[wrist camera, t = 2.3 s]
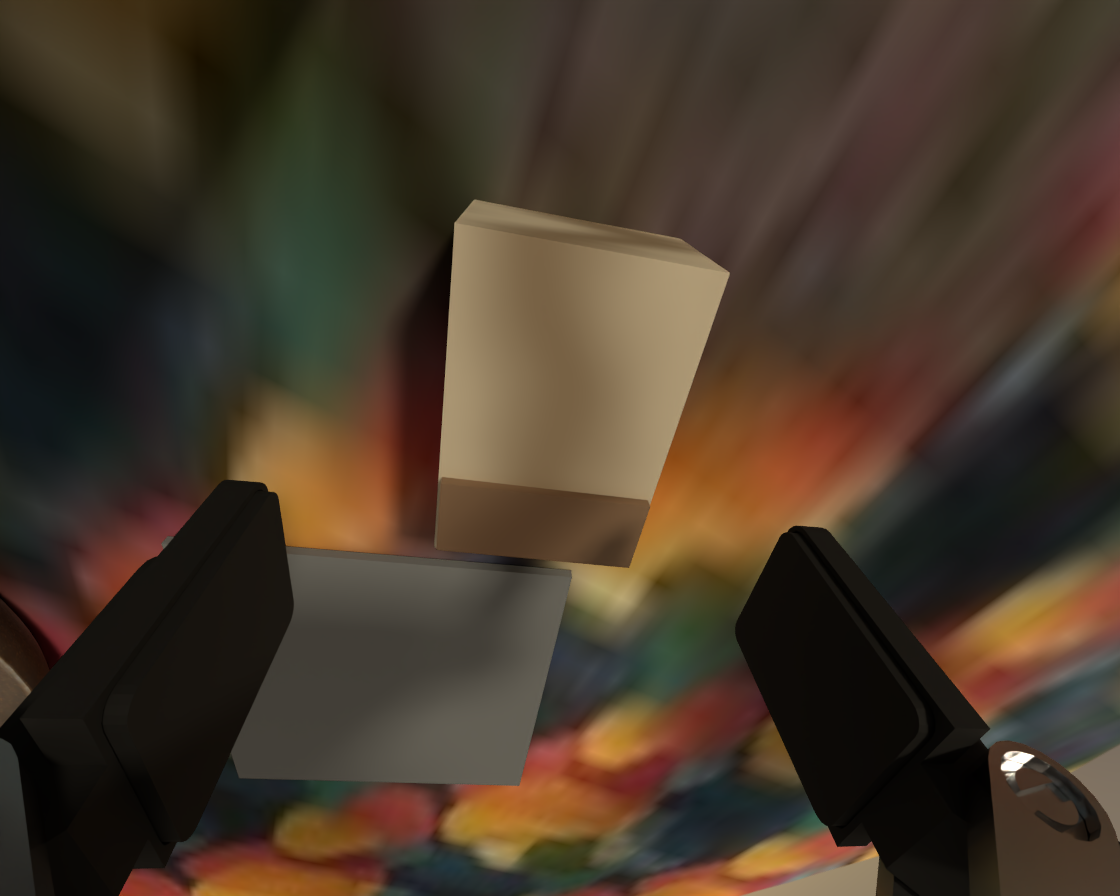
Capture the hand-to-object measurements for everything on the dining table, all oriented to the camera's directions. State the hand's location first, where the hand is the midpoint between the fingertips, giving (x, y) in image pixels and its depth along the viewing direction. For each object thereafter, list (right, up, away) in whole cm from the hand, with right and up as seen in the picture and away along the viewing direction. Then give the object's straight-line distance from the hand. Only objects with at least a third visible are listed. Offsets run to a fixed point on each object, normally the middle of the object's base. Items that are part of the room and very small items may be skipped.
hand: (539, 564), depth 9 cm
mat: (-8, -10, +16) cm, 20 cm away
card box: (0, +5, +7) cm, 9 cm away
